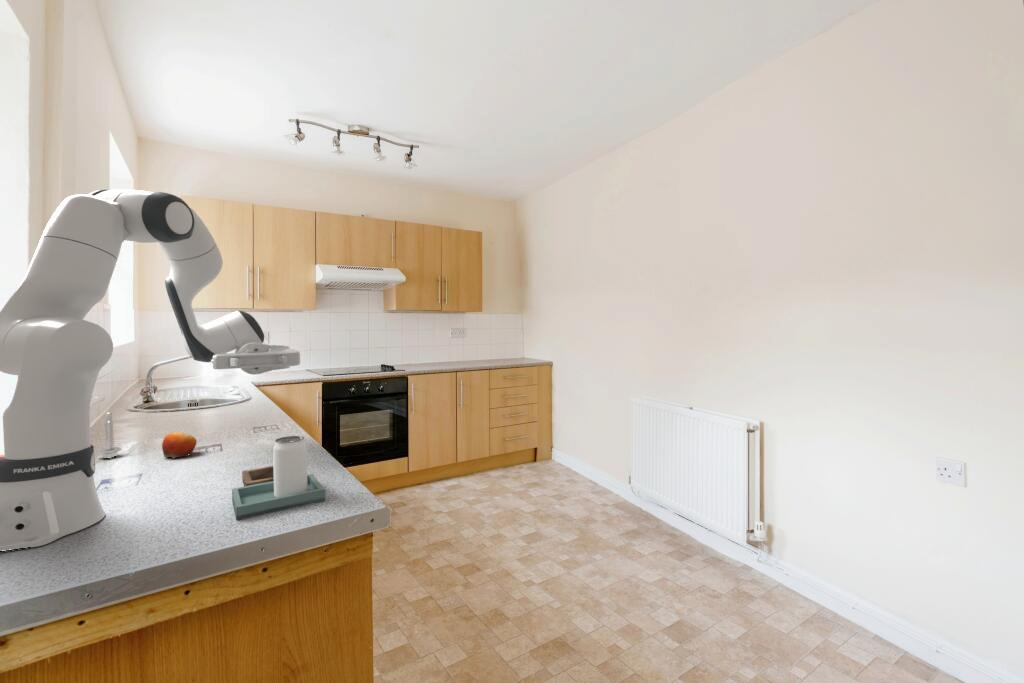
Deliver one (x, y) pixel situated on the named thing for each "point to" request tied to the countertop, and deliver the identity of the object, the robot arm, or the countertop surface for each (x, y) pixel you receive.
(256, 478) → the collar
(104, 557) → the countertop surface
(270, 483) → the tray
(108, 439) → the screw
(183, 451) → the fruit
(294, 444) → the can
